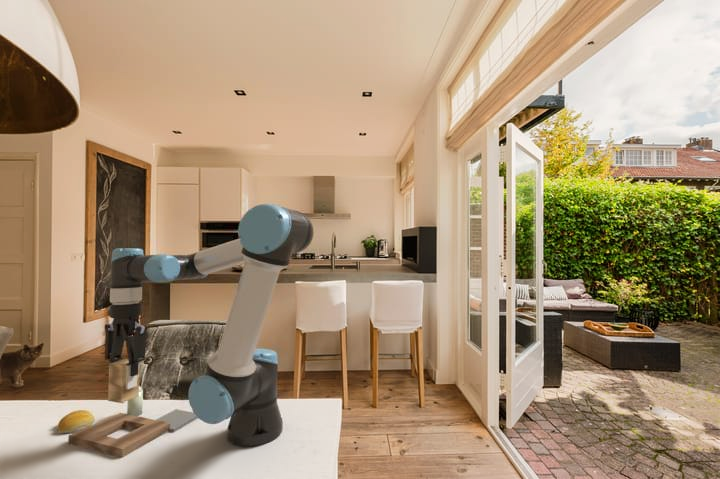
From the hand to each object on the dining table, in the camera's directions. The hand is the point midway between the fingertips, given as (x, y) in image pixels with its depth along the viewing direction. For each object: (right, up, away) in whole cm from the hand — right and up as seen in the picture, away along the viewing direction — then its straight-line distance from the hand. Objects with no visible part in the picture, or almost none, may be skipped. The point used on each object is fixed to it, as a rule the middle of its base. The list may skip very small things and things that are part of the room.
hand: (123, 386), depth 94 cm
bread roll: (-18, -14, +5) cm, 23 cm away
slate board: (+10, -14, +8) cm, 19 cm away
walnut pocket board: (0, -14, -1) cm, 14 cm away
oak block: (0, -3, 0) cm, 3 cm away
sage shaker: (-5, -14, +13) cm, 20 cm away
